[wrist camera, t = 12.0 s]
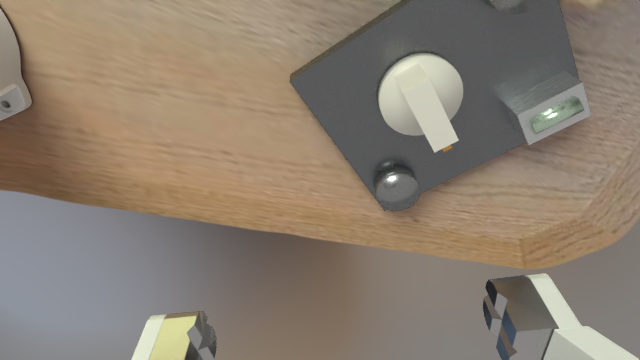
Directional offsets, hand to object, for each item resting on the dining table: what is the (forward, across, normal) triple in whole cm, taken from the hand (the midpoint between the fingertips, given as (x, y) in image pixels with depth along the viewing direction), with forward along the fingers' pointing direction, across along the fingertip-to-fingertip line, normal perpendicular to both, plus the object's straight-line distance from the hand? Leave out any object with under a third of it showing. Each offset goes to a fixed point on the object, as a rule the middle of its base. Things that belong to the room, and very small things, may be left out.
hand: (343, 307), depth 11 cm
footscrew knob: (+29, -9, +8) cm, 31 cm away
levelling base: (+31, -11, +8) cm, 34 cm away
